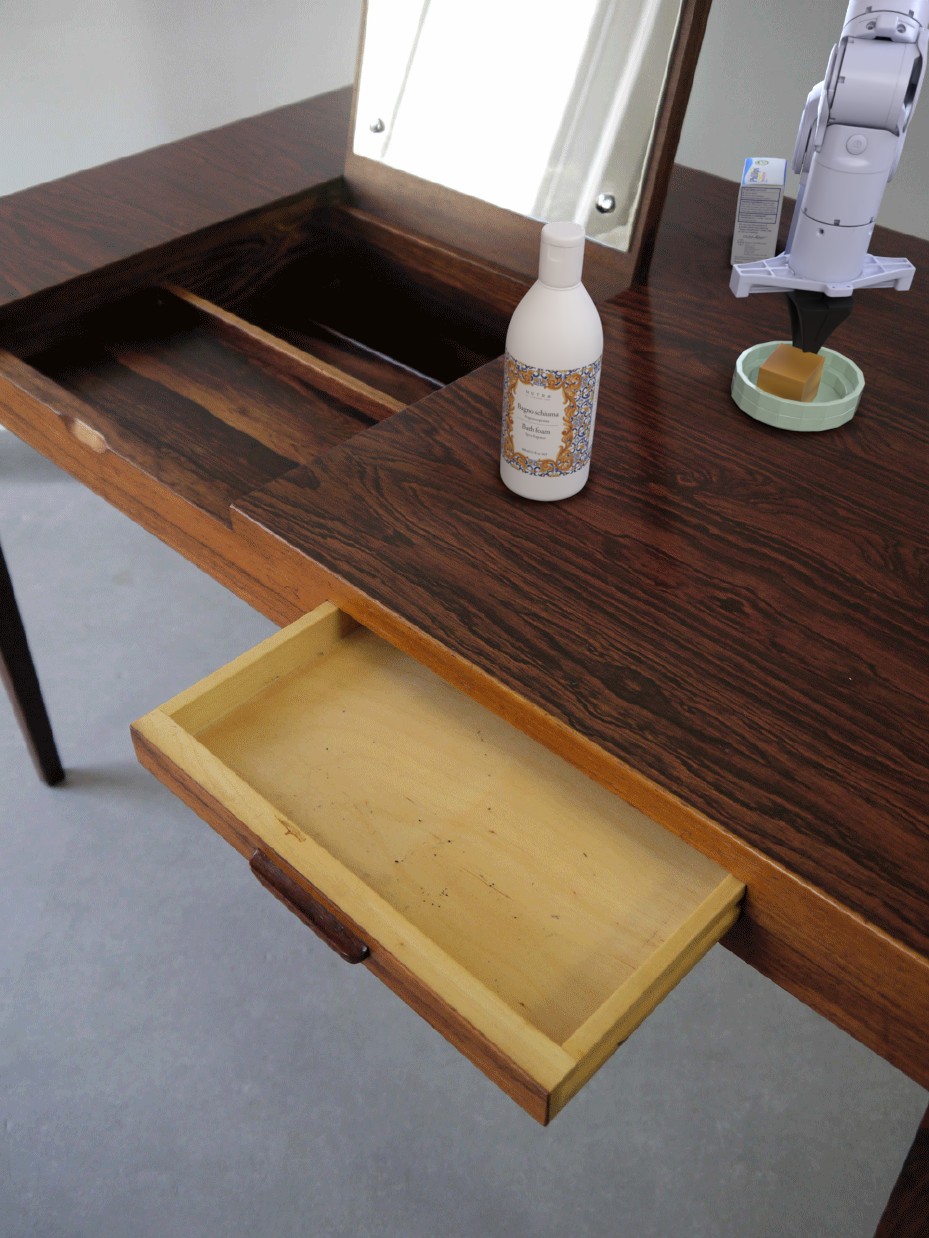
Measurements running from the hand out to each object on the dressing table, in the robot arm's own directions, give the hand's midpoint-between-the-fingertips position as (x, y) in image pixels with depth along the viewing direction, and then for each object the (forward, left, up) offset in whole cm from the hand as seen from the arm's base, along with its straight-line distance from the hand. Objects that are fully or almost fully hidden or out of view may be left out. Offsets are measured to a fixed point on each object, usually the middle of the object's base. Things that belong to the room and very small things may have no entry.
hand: (798, 368), depth 91 cm
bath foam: (+24, -9, -3) cm, 26 cm away
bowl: (+1, +1, -3) cm, 3 cm away
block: (+3, 0, -2) cm, 3 cm away
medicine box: (-24, -16, -3) cm, 29 cm away
